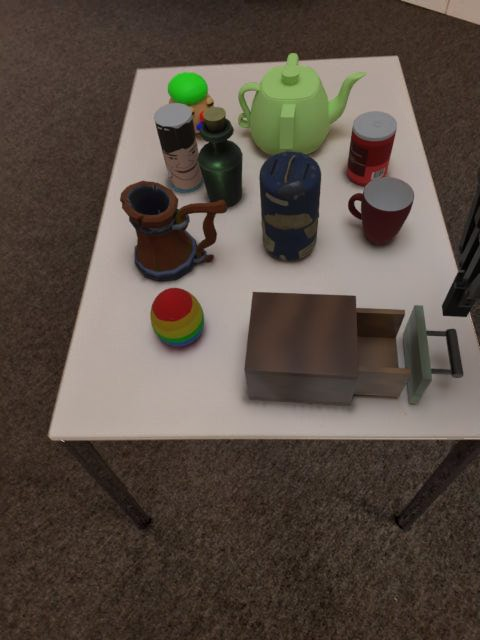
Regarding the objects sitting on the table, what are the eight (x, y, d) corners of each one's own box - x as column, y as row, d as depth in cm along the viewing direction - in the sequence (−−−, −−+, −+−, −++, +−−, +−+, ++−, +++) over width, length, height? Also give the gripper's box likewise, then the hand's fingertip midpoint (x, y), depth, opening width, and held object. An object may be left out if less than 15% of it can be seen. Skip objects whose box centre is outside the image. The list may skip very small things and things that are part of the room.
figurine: (165, 128, 108) (153, 76, 98) (200, 110, 110) (192, 58, 100) (192, 153, 102) (182, 100, 92) (229, 133, 105) (223, 81, 95)
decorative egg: (206, 308, 80) (197, 270, 72) (207, 351, 76) (197, 316, 67) (158, 312, 81) (143, 275, 72) (155, 355, 76) (140, 321, 68)
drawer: (444, 335, 73) (460, 306, 67) (454, 406, 67) (473, 381, 61) (321, 330, 75) (325, 301, 69) (320, 397, 69) (324, 373, 63)
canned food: (391, 164, 96) (402, 115, 87) (379, 191, 92) (390, 142, 83) (353, 156, 98) (360, 107, 89) (340, 181, 94) (347, 133, 85)
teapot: (229, 135, 105) (222, 70, 93) (299, 97, 110) (301, 31, 98) (285, 178, 96) (286, 113, 84) (358, 135, 102) (368, 68, 89)
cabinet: (348, 331, 76) (356, 295, 68) (350, 405, 69) (358, 376, 61) (255, 326, 78) (252, 291, 70) (248, 399, 71) (244, 369, 63)
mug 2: (335, 240, 86) (340, 198, 78) (352, 210, 90) (359, 167, 81) (392, 259, 83) (405, 217, 75) (408, 228, 86) (421, 184, 78)
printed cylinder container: (166, 191, 96) (149, 125, 84) (174, 169, 100) (158, 102, 87) (199, 193, 95) (187, 126, 83) (206, 170, 99) (195, 103, 86)
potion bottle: (223, 176, 98) (212, 93, 83) (254, 193, 94) (249, 109, 79) (196, 199, 95) (179, 117, 79) (227, 217, 91) (216, 135, 76)
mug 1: (239, 238, 88) (231, 173, 76) (228, 289, 82) (218, 227, 70) (145, 231, 91) (123, 167, 78) (127, 280, 85) (100, 219, 72)
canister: (325, 235, 87) (334, 152, 72) (301, 272, 83) (305, 192, 68) (278, 218, 90) (277, 135, 75) (253, 253, 86) (246, 172, 71)
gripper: (479, 98, 43) (417, 268, 62) (504, 201, 36) (426, 356, 55) (570, 98, 42) (478, 271, 61) (615, 204, 35) (495, 361, 54)
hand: (454, 311), depth 58 cm, fingers closed
